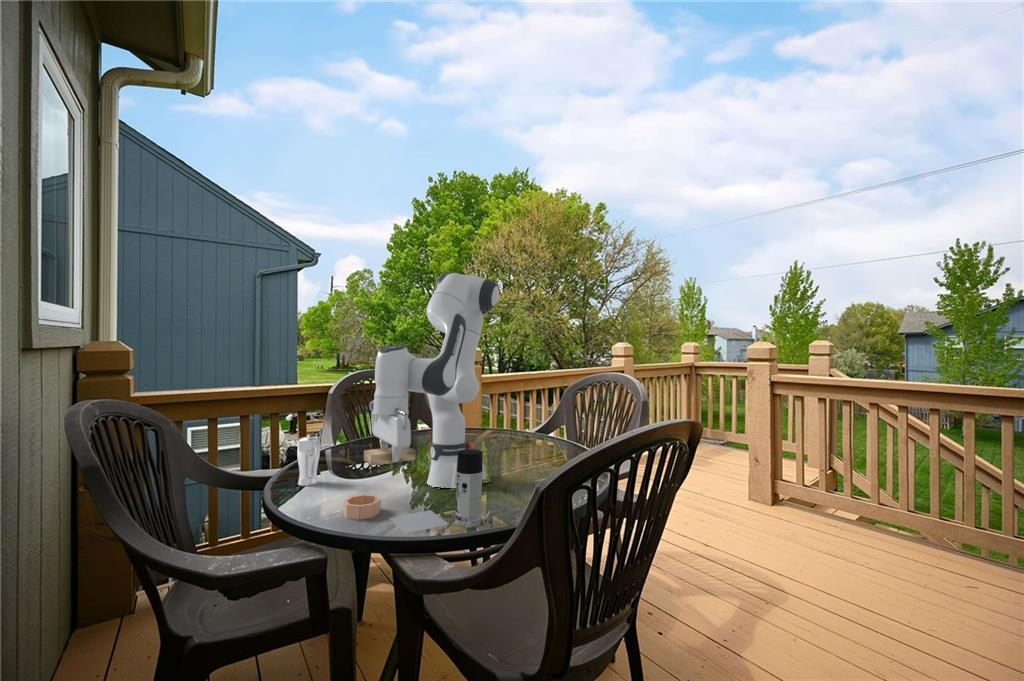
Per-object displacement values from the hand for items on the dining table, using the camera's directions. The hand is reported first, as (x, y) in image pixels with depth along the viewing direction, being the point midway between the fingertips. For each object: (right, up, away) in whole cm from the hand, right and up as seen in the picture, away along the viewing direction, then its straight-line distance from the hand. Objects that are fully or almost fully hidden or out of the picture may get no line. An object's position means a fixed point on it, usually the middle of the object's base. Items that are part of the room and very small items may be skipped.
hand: (390, 458), depth 126 cm
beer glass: (-36, -17, +32) cm, 51 cm away
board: (0, -1, 0) cm, 1 cm away
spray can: (+21, -18, -2) cm, 28 cm away
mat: (+8, -17, -3) cm, 19 cm away
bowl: (-8, -17, +2) cm, 19 cm away
